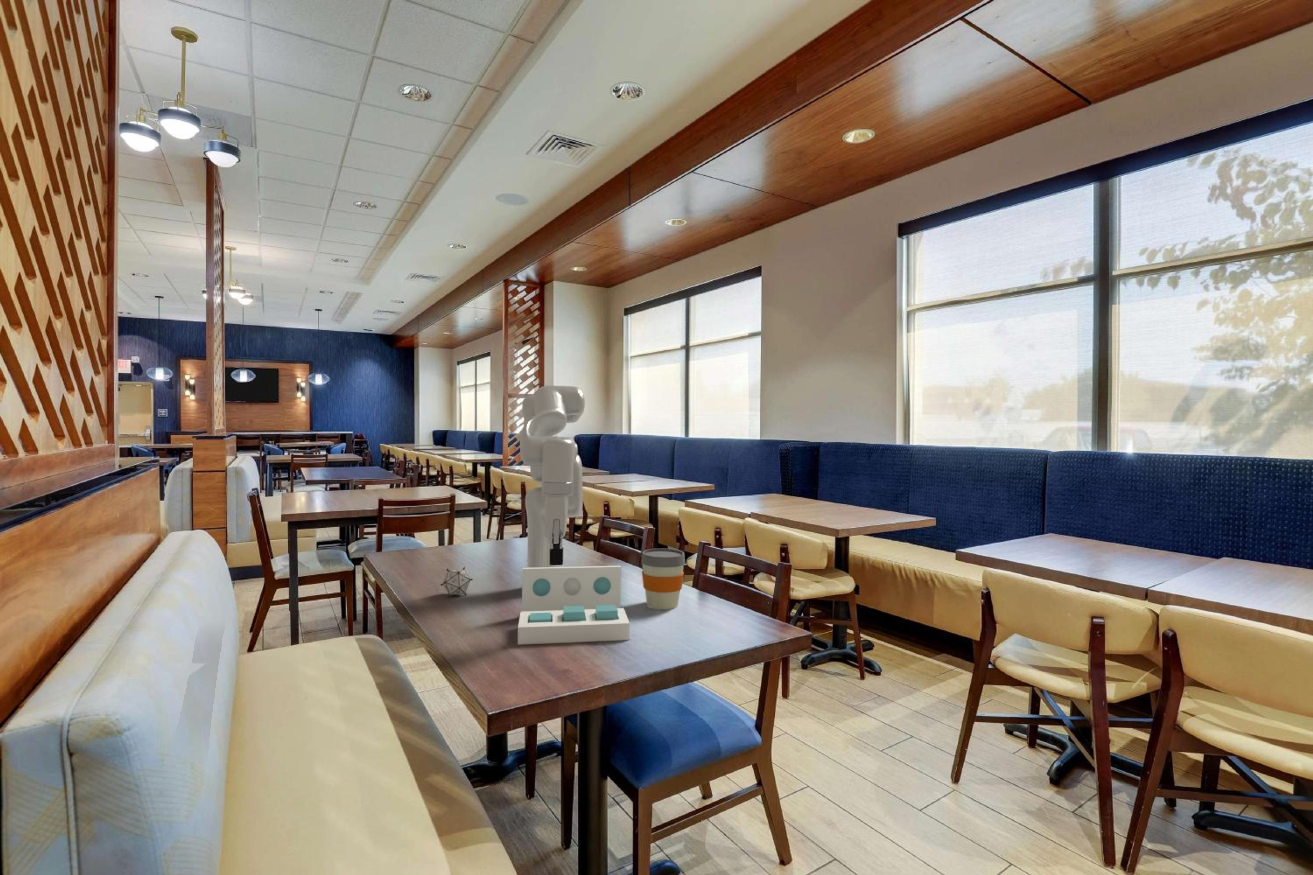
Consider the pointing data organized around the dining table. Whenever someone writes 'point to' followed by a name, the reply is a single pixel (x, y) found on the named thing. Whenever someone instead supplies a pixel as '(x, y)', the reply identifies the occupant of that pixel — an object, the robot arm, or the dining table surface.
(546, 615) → the button
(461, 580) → the grey geometric polyhedron ornament
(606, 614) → the button
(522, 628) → the button board
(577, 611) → the button
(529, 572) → the pattern sign
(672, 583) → the reusable coffee cup
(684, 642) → the dining table surface
